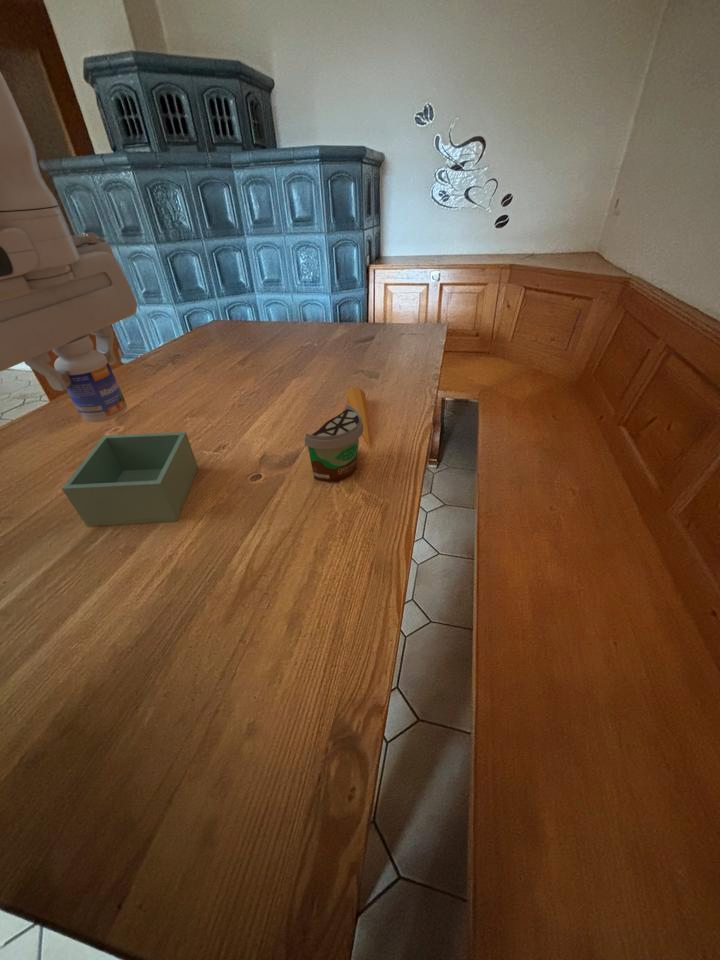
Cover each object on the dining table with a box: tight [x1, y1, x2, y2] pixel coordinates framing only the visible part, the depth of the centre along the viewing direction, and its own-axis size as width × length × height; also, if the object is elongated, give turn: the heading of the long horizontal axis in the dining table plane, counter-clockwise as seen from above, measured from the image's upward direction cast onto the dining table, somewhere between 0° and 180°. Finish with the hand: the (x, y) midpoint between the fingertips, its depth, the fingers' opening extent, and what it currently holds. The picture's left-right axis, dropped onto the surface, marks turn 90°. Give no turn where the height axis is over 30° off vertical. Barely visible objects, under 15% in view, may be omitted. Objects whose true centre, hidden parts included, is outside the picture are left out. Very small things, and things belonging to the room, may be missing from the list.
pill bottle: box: [52, 334, 128, 423], centre depth 47 cm, size 5×5×10 cm
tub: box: [61, 431, 199, 527], centre depth 62 cm, size 14×14×8 cm
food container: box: [304, 403, 363, 483], centre depth 66 cm, size 12×6×10 cm, turn 147°
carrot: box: [346, 386, 372, 450], centre depth 81 cm, size 20×4×4 cm, turn 10°
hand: (86, 375), depth 47 cm, fingers closed on pill bottle, 5 cm apart
